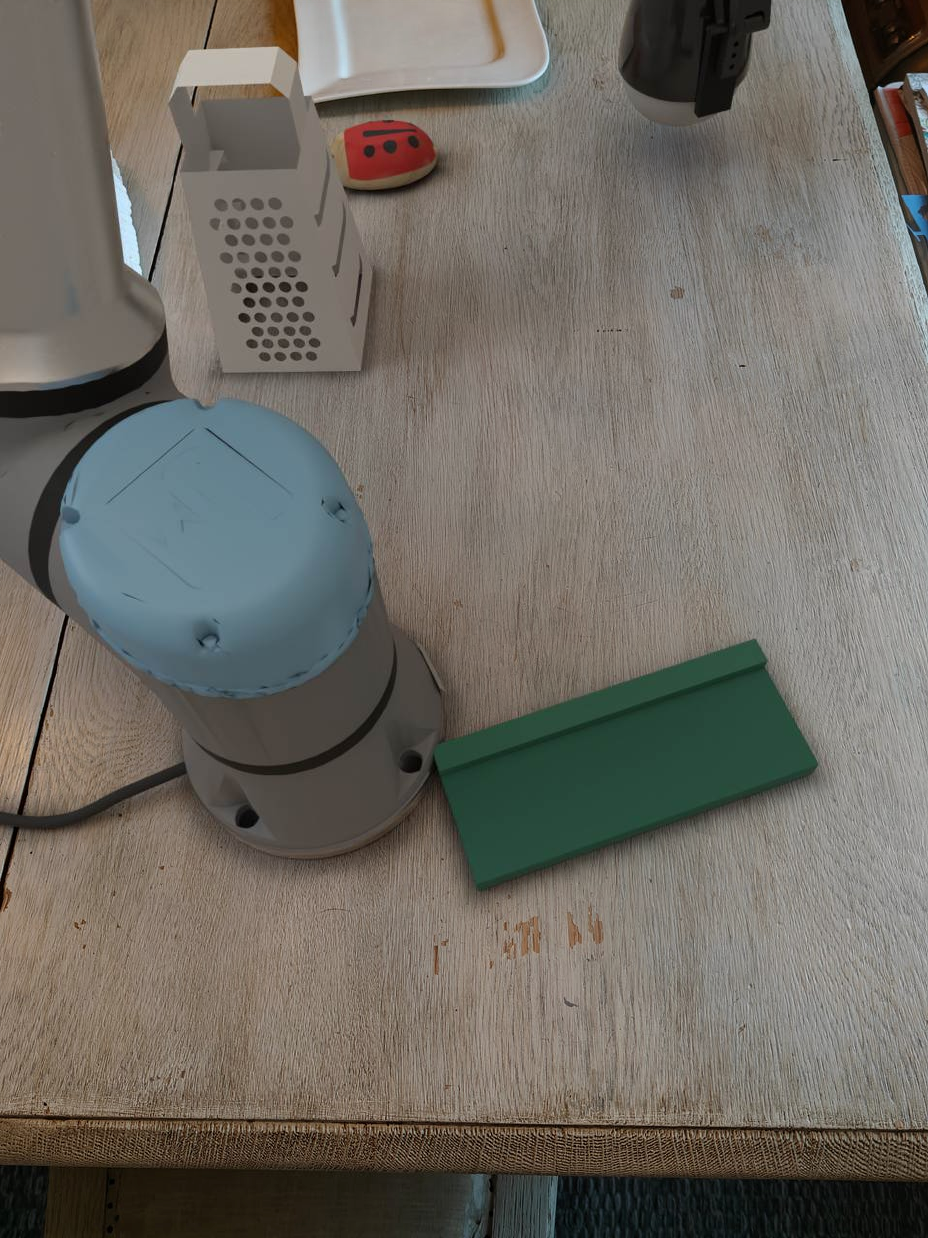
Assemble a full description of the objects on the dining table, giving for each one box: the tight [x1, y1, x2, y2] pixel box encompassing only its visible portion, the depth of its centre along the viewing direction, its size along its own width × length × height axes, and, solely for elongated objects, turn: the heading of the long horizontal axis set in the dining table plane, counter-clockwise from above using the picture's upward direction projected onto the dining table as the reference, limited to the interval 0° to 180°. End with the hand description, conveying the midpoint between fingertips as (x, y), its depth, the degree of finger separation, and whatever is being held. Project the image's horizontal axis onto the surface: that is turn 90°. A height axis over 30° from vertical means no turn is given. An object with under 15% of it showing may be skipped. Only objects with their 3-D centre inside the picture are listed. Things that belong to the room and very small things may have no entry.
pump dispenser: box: [617, 0, 755, 128], centre depth 72 cm, size 10×10×15 cm
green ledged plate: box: [433, 638, 819, 892], centre depth 54 cm, size 20×8×2 cm, turn 108°
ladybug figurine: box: [329, 119, 441, 191], centre depth 81 cm, size 7×10×4 cm
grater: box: [167, 46, 374, 374], centre depth 65 cm, size 10×10×20 cm
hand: (682, 72), depth 76 cm, fingers closed on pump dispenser, 10 cm apart
